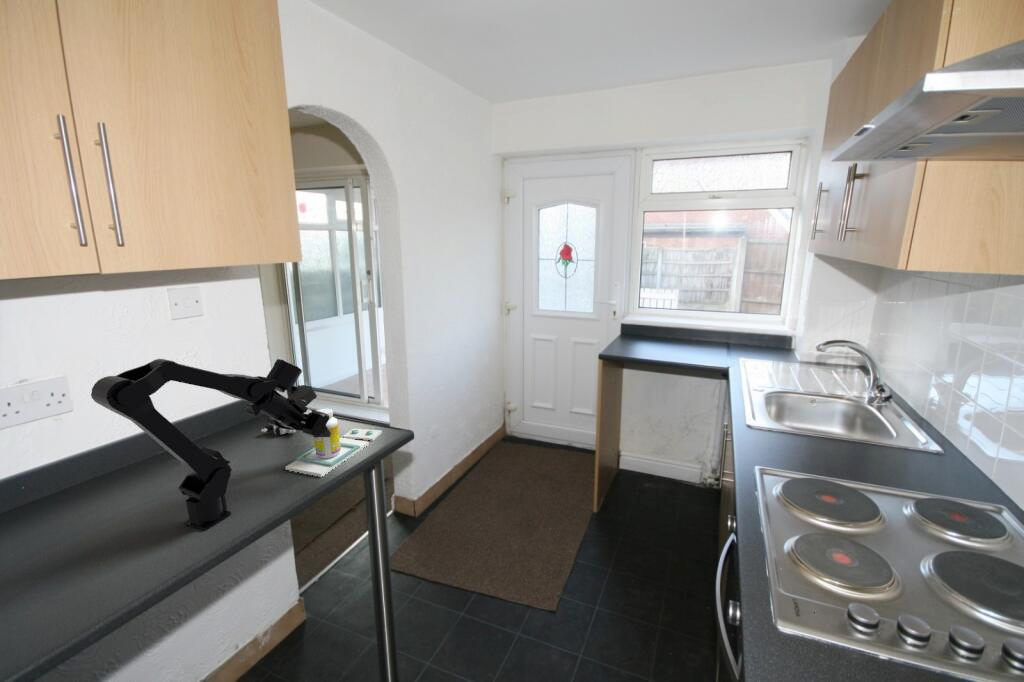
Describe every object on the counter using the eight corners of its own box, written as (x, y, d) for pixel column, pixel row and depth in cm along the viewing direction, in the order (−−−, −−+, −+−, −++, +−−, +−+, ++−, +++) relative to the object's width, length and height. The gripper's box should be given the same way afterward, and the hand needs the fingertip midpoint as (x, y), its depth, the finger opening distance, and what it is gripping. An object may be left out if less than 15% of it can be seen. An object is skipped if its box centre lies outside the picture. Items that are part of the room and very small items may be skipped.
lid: (372, 440, 143) (372, 436, 143) (343, 438, 145) (342, 434, 145) (381, 432, 149) (381, 428, 148) (353, 430, 151) (352, 426, 151)
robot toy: (296, 440, 147) (319, 418, 161) (294, 427, 145) (317, 406, 160) (259, 439, 148) (286, 418, 162) (257, 426, 147) (283, 406, 161)
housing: (321, 477, 122) (320, 471, 122) (285, 470, 126) (284, 464, 126) (368, 444, 140) (368, 439, 140) (336, 439, 144) (335, 434, 144)
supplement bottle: (341, 447, 137) (337, 405, 134) (340, 457, 131) (336, 413, 128) (317, 450, 135) (311, 408, 132) (315, 461, 129) (309, 417, 126)
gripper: (319, 383, 117) (356, 411, 128) (271, 374, 125) (310, 401, 137) (295, 424, 111) (336, 449, 123) (247, 411, 120) (289, 436, 132)
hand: (318, 432), depth 129 cm, fingers open, 9 cm apart
